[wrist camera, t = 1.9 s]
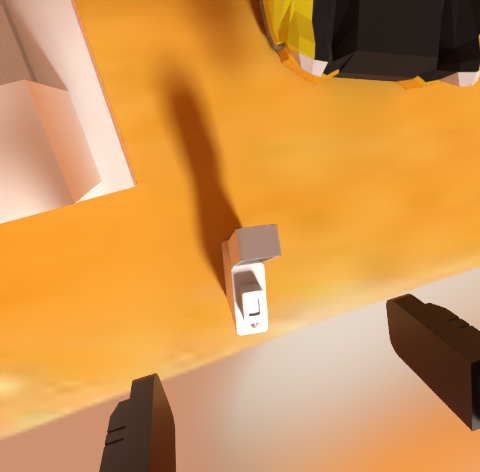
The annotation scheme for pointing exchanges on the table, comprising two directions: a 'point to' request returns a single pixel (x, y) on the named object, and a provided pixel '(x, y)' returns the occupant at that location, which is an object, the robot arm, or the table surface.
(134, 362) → the table surface
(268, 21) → the gaming controller
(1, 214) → the block
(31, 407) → the table surface
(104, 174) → the rail plate
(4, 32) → the rail
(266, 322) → the lighter
